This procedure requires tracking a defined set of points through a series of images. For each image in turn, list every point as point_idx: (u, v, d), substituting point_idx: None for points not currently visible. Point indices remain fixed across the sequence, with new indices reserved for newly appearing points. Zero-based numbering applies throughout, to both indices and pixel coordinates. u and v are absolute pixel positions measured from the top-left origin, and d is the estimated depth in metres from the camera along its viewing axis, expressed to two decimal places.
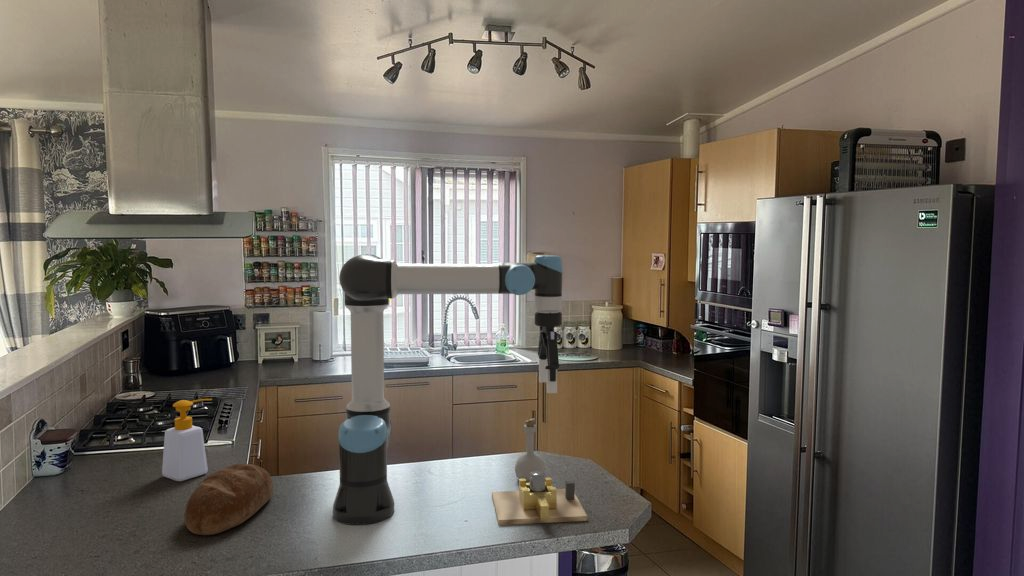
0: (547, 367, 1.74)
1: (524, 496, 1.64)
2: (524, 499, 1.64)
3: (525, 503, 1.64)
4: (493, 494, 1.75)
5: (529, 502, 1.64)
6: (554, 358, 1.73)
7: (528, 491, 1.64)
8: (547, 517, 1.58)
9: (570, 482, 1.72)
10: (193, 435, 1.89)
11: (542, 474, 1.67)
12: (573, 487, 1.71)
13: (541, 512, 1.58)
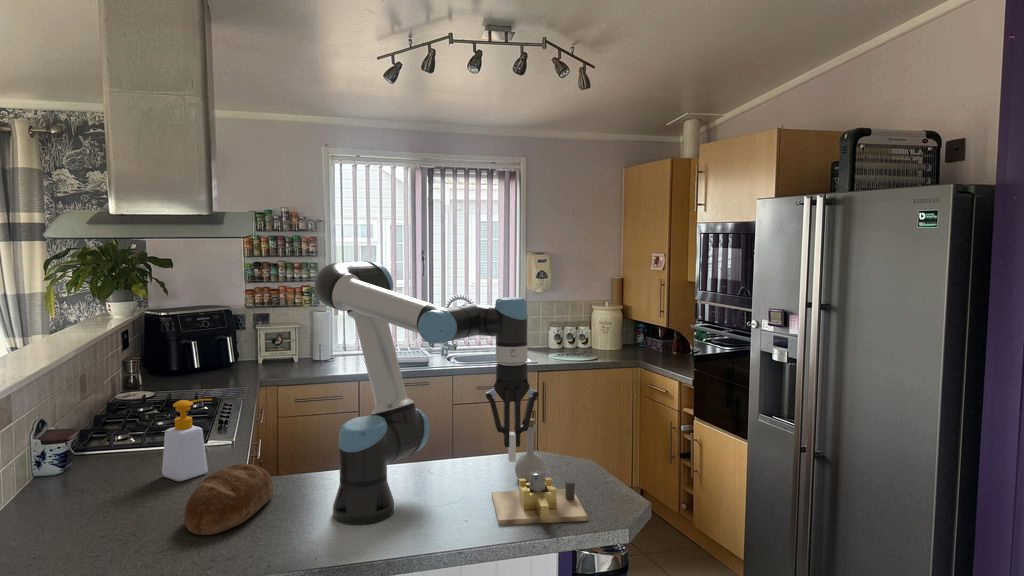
0: None
1: (524, 496, 1.64)
2: (524, 499, 1.64)
3: (525, 503, 1.64)
4: (493, 494, 1.75)
5: (529, 502, 1.64)
6: None
7: (528, 491, 1.64)
8: (547, 517, 1.58)
9: (570, 482, 1.72)
10: (193, 435, 1.89)
11: (542, 474, 1.67)
12: (573, 487, 1.71)
13: (541, 512, 1.58)
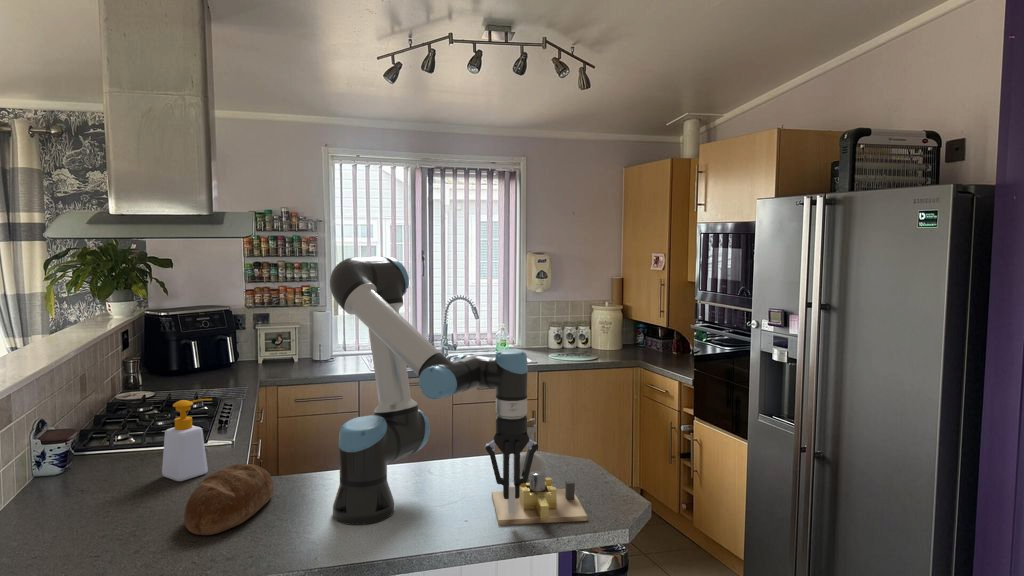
0: None
1: (524, 496, 1.64)
2: (524, 499, 1.64)
3: (525, 503, 1.64)
4: (493, 494, 1.75)
5: (529, 502, 1.64)
6: None
7: (528, 491, 1.64)
8: (547, 517, 1.58)
9: (570, 482, 1.72)
10: (193, 435, 1.89)
11: (542, 474, 1.67)
12: (573, 487, 1.71)
13: (541, 512, 1.58)
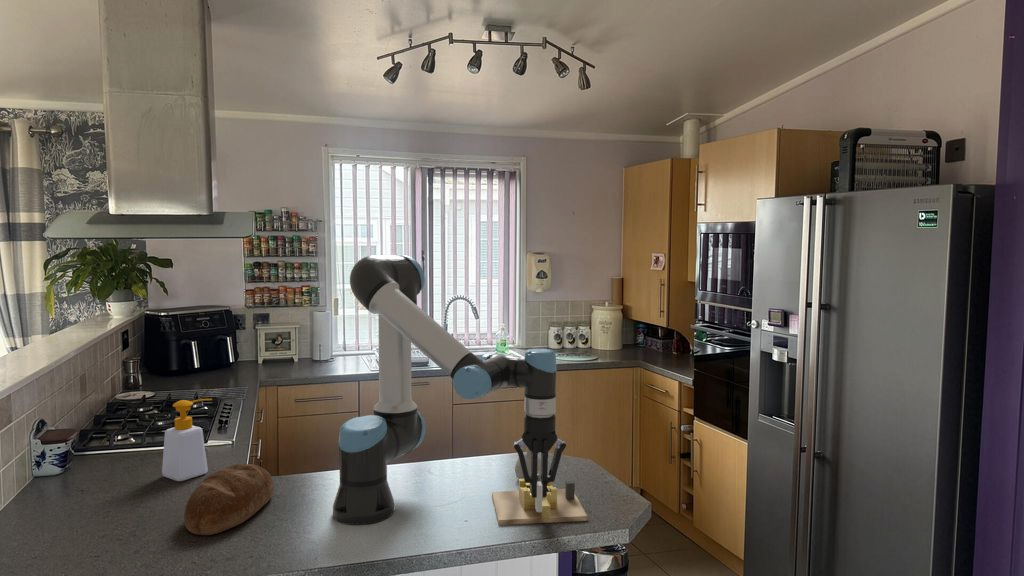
0: None
1: (525, 496, 1.64)
2: (525, 499, 1.64)
3: (526, 503, 1.64)
4: (493, 494, 1.75)
5: (530, 502, 1.64)
6: (522, 472, 1.58)
7: (529, 491, 1.64)
8: (548, 517, 1.58)
9: (570, 482, 1.72)
10: (193, 435, 1.89)
11: None
12: (573, 487, 1.71)
13: (543, 512, 1.58)
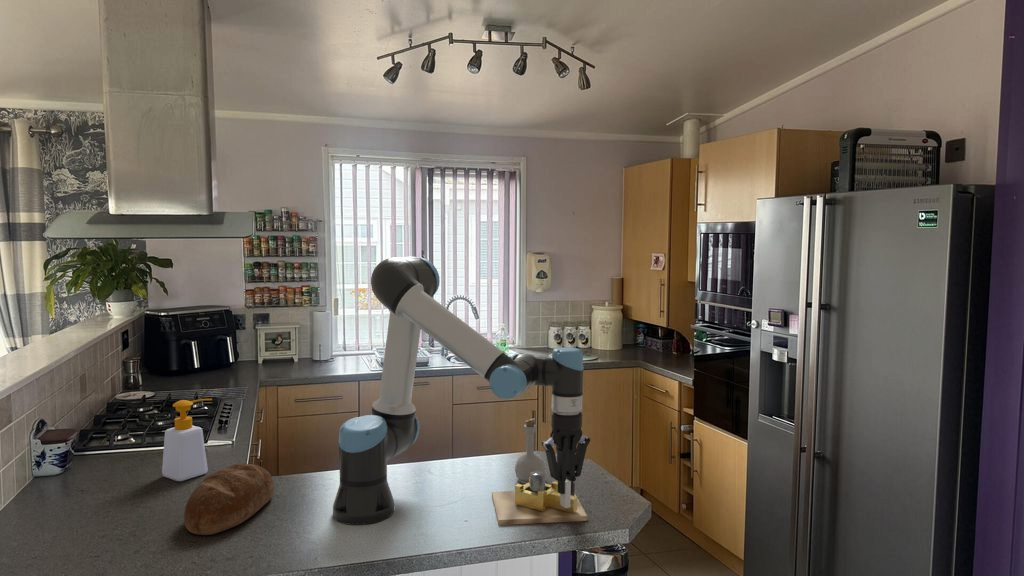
0: None
1: (543, 498, 1.63)
2: (543, 501, 1.63)
3: (544, 504, 1.63)
4: (493, 494, 1.75)
5: (546, 502, 1.64)
6: (552, 470, 1.59)
7: (545, 491, 1.64)
8: (576, 508, 1.63)
9: None
10: (193, 435, 1.89)
11: (542, 474, 1.67)
12: (573, 487, 1.71)
13: (573, 505, 1.62)
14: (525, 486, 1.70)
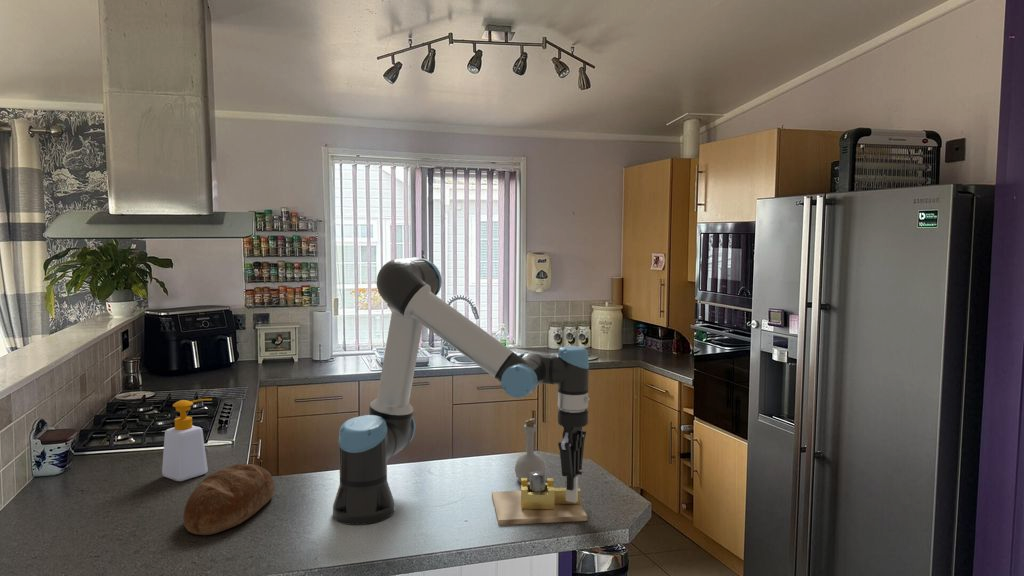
0: None
1: None
2: None
3: None
4: (493, 494, 1.75)
5: None
6: (566, 469, 1.61)
7: (554, 489, 1.65)
8: None
9: None
10: (193, 435, 1.89)
11: (542, 474, 1.67)
12: None
13: None
14: None
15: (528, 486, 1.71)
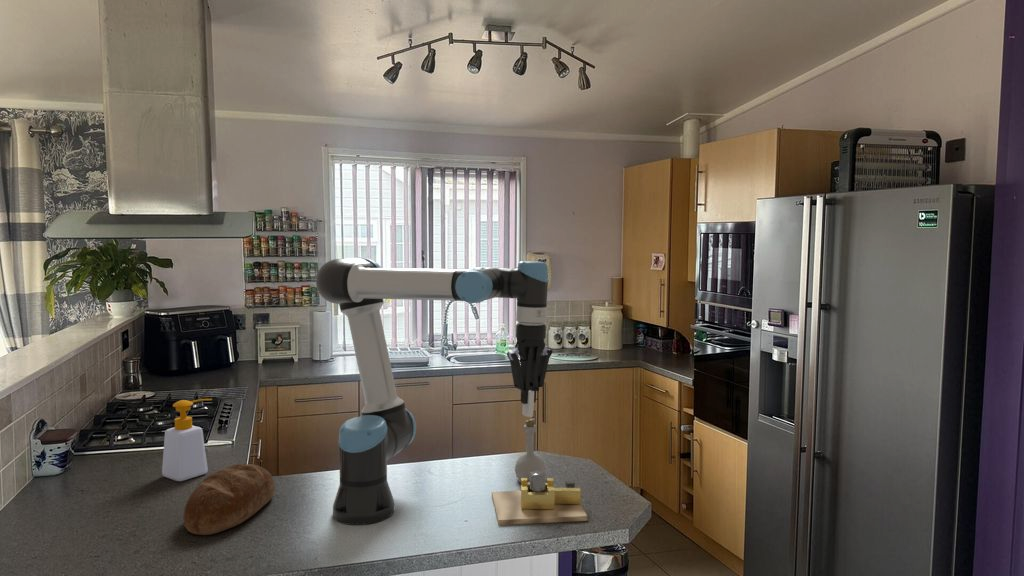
0: None
1: None
2: None
3: None
4: (493, 494, 1.75)
5: None
6: (516, 380, 1.62)
7: (554, 489, 1.65)
8: None
9: (570, 482, 1.72)
10: (193, 435, 1.89)
11: (542, 474, 1.67)
12: (573, 487, 1.71)
13: None
14: None
15: (528, 486, 1.71)
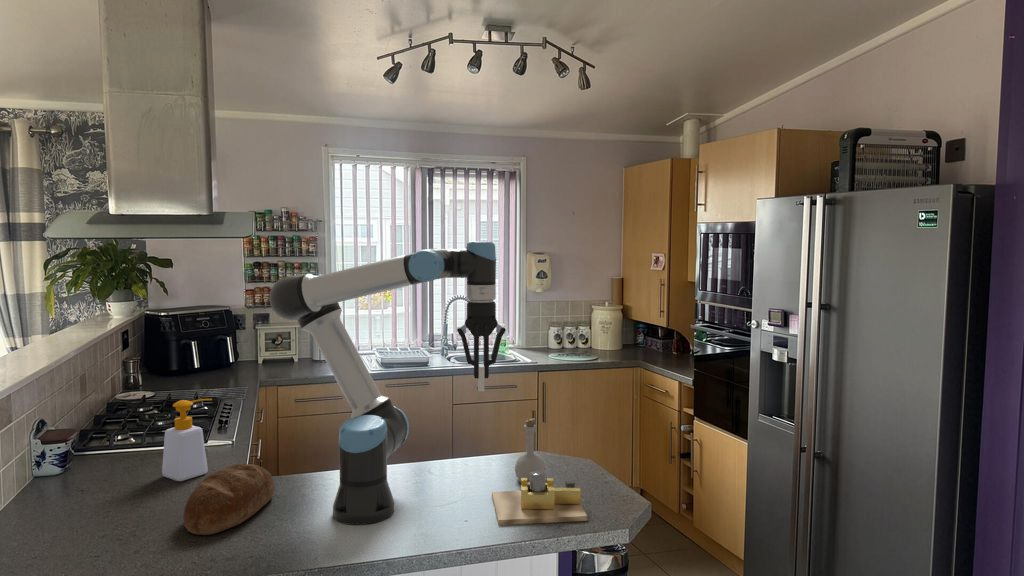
0: None
1: None
2: None
3: None
4: (493, 494, 1.75)
5: None
6: None
7: (554, 489, 1.65)
8: None
9: (570, 482, 1.72)
10: (193, 435, 1.89)
11: (542, 474, 1.67)
12: (573, 487, 1.71)
13: None
14: None
15: (528, 486, 1.71)
